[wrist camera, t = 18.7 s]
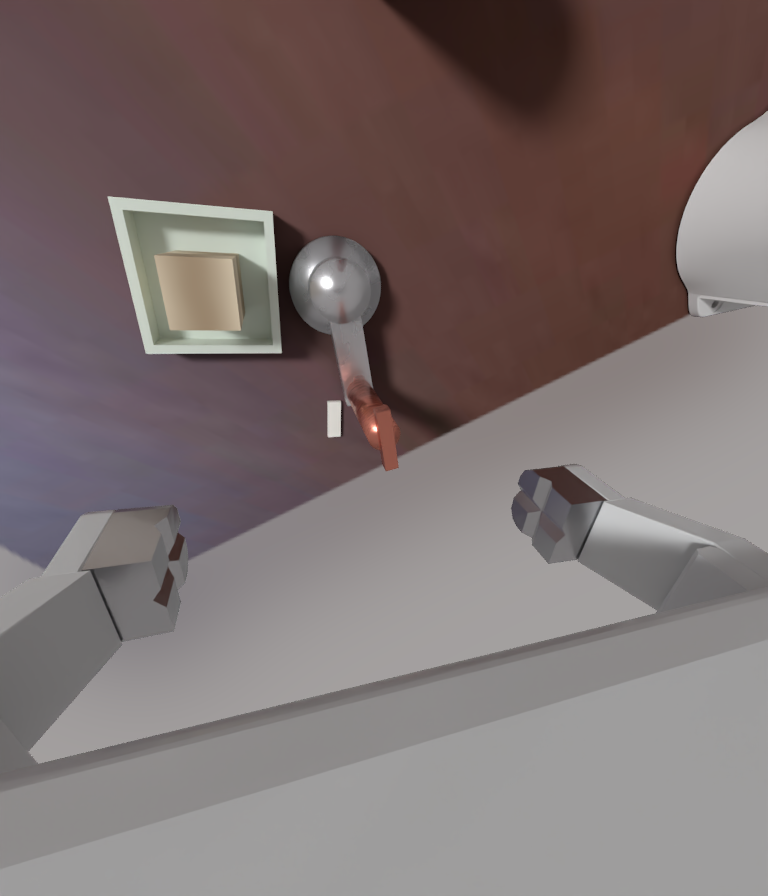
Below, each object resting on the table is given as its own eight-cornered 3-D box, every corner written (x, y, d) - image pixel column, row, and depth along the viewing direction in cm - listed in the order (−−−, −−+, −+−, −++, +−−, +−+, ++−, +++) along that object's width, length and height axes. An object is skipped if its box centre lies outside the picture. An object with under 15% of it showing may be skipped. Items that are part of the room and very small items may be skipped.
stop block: (238, 253, 26) (232, 259, 21) (245, 312, 28) (240, 330, 23) (175, 250, 25) (153, 255, 20) (187, 312, 27) (169, 330, 22)
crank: (301, 262, 27) (317, 277, 18) (360, 251, 27) (402, 261, 19) (336, 414, 33) (360, 478, 25) (383, 403, 34) (423, 461, 26)
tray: (272, 212, 26) (272, 211, 24) (280, 344, 31) (281, 353, 29) (121, 199, 24) (107, 196, 22) (154, 344, 28) (145, 353, 26)
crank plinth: (379, 239, 29) (383, 239, 28) (374, 332, 32) (378, 335, 31) (286, 232, 27) (287, 232, 26) (291, 331, 30) (292, 334, 29)
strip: (340, 400, 34) (341, 401, 34) (340, 435, 36) (340, 436, 36) (327, 400, 34) (327, 402, 34) (327, 435, 36) (328, 437, 36)
